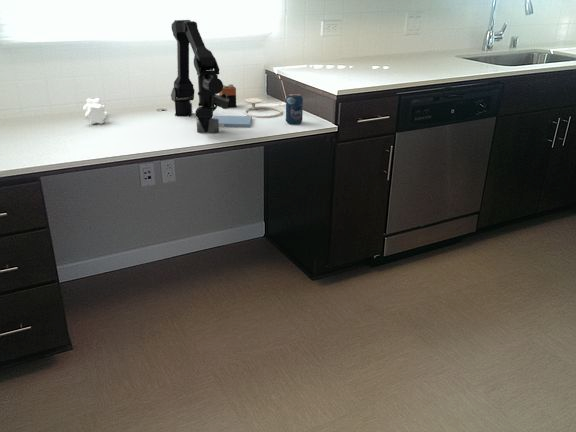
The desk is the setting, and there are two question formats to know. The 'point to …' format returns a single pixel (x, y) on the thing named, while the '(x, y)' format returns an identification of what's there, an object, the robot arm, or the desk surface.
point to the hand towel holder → (253, 102)
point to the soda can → (294, 108)
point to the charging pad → (234, 121)
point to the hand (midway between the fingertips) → (207, 128)
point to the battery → (230, 95)
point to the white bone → (95, 111)
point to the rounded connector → (210, 126)
